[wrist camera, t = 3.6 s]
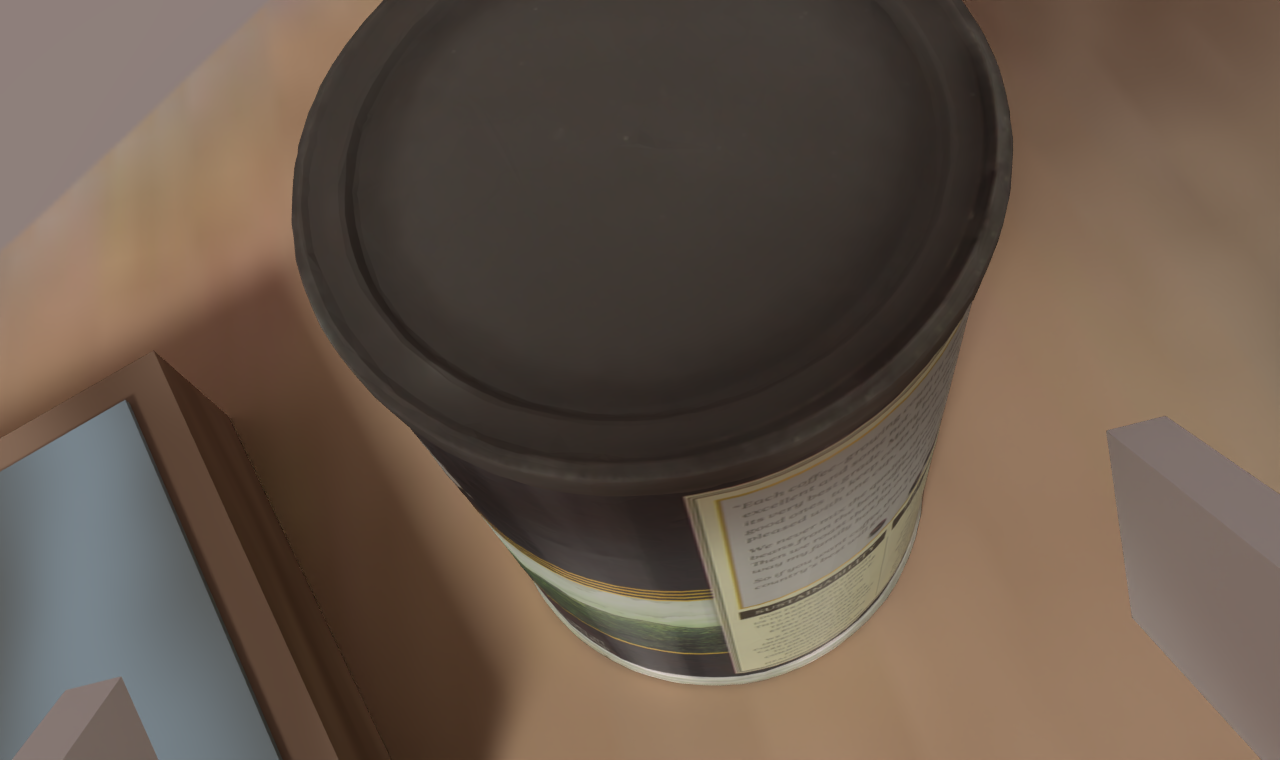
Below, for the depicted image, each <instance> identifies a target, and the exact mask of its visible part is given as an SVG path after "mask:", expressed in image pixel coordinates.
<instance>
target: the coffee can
mask: <svg viewBox="0 0 1280 760" xmlns="http://www.w3.org/2000/svg"><path fill="white" fill-rule="evenodd" d="M1012 158H1013V136H1012V129H1011V123H1010V111H1009V106H1008V101H1007V96H1006V92H1005V88H1004V84H1003V81H1002V77H1001V73H1000V70H999V67H998V65H997V62H996V60H995V57H994V55H993V53H992V51H991V48H990V46H989V44H988V42H987V40H986V38H985V36H984V34H983V32H982V31H981V29H980V27H979V26H978V24H977V22H976V21H975V19H974V18H973V16H972V15H971V13H970V12H969V10H968V9H967V7H966V6H965V4H964V3H963V2H962V0H383V1H382V2H381V4H380V5H379V6H378V7H377V8H376V9H375V10H374V11H373V12H372V14H371V15H370V16H369V17H368V18H367V19H366V20H365V21H364V22H363V24H362V25H361V26H360V27H359V29H358V30H357V31H356V32H355V34H354V35H353V36H352V38H351V39H350V40H349V41H348V43H347V44H346V45H345V47H344V48H343V50H342V51H341V53H340V54H339V56H338V57H337V59H336V60H335V61H334V63H333V64H332V66H331V68H330V70H329V71H328V73H327V75H326V77H325V78H324V80H323V82H322V84H321V85H320V87H319V90H318V93H317V95H316V98H315V100H314V102H313V104H312V106H311V108H310V111H309V113H308V116H307V119H306V122H305V126H304V129H303V132H302V135H301V139H300V142H299V146H298V155H297V158H296V162H295V168H294V179H293V195H292V229H293V235H294V245H295V256H296V262H297V266H298V269H299V272H300V276H301V279H302V283H303V286H304V288H305V291H306V293H307V296H308V298H309V301H310V303H311V306H312V308H313V311H314V313H315V315H316V317H317V319H318V322H319V324H320V326H321V328H322V329H323V331H324V333H325V334H326V336H327V337H328V339H329V341H330V342H331V344H332V345H333V347H334V348H335V350H336V351H337V352H338V354H339V355H340V357H341V358H342V359H343V360H344V362H345V363H346V364H347V365H348V367H349V368H350V369H351V370H352V372H353V373H354V374H355V375H356V377H357V378H358V379H359V380H360V381H361V382H362V383H363V384H364V386H365V387H366V388H367V389H368V390H369V391H370V392H371V394H372V395H373V396H374V397H375V398H376V399H377V400H379V401H380V402H381V403H382V404H383V405H384V406H385V407H386V408H388V409H389V410H390V411H391V412H392V413H393V414H395V415H396V416H397V417H398V418H399V419H400V420H402V421H403V422H404V423H405V424H406V425H407V426H409V427H410V428H411V430H412V431H413V432H414V433H415V434H416V436H417V437H418V438H419V439H420V441H421V442H422V444H423V445H424V446H425V447H426V448H427V449H428V450H429V452H430V453H431V454H432V456H433V457H434V459H435V460H436V461H437V462H438V464H439V465H440V466H441V468H442V469H443V470H444V472H445V473H446V474H447V476H448V477H449V478H450V479H451V480H452V481H453V482H454V483H455V484H456V485H457V487H458V488H459V489H460V491H461V492H462V493H463V494H464V495H465V496H466V497H467V499H468V500H469V501H470V502H471V504H472V505H473V506H474V507H475V509H476V510H477V511H478V512H479V514H480V515H481V516H482V517H483V518H484V520H485V521H486V522H487V523H488V525H489V526H490V527H491V528H492V530H493V531H494V532H495V533H496V535H497V536H498V537H499V538H500V540H501V541H502V542H503V543H504V545H505V546H506V547H507V548H508V550H509V551H510V552H511V554H512V555H513V556H514V557H515V559H516V560H517V561H518V563H519V564H520V565H521V567H522V568H523V569H524V570H525V571H526V572H527V573H528V575H529V576H530V577H531V579H532V580H533V581H534V583H535V585H536V587H537V589H538V591H539V592H540V594H541V595H542V597H543V598H544V600H545V601H546V603H547V604H548V605H549V607H550V608H551V609H552V610H553V611H554V613H555V614H556V615H557V616H558V617H559V619H560V620H561V621H562V622H563V623H564V624H565V625H566V626H567V627H568V628H569V629H570V630H571V631H572V632H573V633H574V634H575V635H576V636H577V637H578V638H579V639H580V640H582V641H583V642H585V643H586V644H587V645H589V646H590V647H592V648H593V649H594V650H596V651H597V652H599V653H601V654H602V655H604V656H606V657H607V658H609V659H611V660H613V661H614V662H616V663H618V664H621V665H623V666H625V667H627V668H629V669H631V670H633V671H636V672H639V673H642V674H645V675H648V676H652V677H655V678H659V679H663V680H667V681H671V682H677V683H683V684H696V685H734V684H746V683H751V682H757V681H762V680H766V679H769V678H772V677H775V676H779V675H782V674H785V673H787V672H790V671H792V670H795V669H798V668H800V667H802V666H804V665H806V664H808V663H810V662H812V661H814V660H816V659H818V658H819V657H821V656H823V655H825V654H826V653H828V652H829V651H831V650H833V649H834V648H836V647H837V646H838V645H840V644H841V643H842V642H843V641H845V640H846V639H847V638H848V637H850V636H851V635H852V634H853V633H855V632H856V631H857V630H858V629H859V628H860V627H861V626H862V625H863V624H864V623H866V622H867V621H868V619H869V618H870V617H871V616H872V615H873V614H874V613H875V612H876V610H877V609H878V608H879V607H880V606H881V605H882V604H883V602H884V601H885V600H886V599H887V598H888V596H889V594H890V593H891V591H892V589H893V588H894V586H895V585H896V583H897V581H898V579H899V577H900V575H901V573H902V571H903V569H904V567H905V565H906V562H907V560H908V558H909V556H910V553H911V550H912V547H913V544H914V541H915V538H916V533H917V529H918V524H919V520H920V517H921V508H922V495H923V491H924V487H925V483H926V480H927V475H928V471H929V467H930V463H931V459H932V455H933V451H934V448H935V445H936V441H937V437H938V432H939V428H940V424H941V420H942V416H943V412H944V408H945V404H946V401H947V397H948V393H949V389H950V385H951V381H952V377H953V373H954V370H955V366H956V362H957V358H958V354H959V350H960V346H961V342H962V338H963V334H964V330H965V326H966V323H967V319H968V315H969V311H970V307H971V304H972V301H973V300H974V297H975V295H976V293H977V291H978V288H979V286H980V284H981V282H982V279H983V277H984V275H985V272H986V270H987V268H988V265H989V263H990V260H991V258H992V255H993V253H994V250H995V248H996V245H997V242H998V239H999V236H1000V233H1001V229H1002V226H1003V222H1004V218H1005V213H1006V209H1007V204H1008V200H1009V195H1010V189H1011V175H1012Z"/></svg>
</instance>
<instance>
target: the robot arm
mask: <svg viewBox="0 0 1280 760" xmlns="http://www.w3.org/2000/svg"><path fill="white" fill-rule="evenodd" d="M1106 432H1107V439H1108V447H1109V454H1110V461H1111V468H1112V476H1113V483H1114V490H1115V497H1116V505H1117V512H1118V519H1119V526H1120V534H1121V541H1122V548H1123V555H1124V563H1125V570H1126V577H1127V584H1128V592H1129V599H1130V606H1131V613H1132V618H1133V619H1134V620H1135V621H1136V622H1137V624H1138V625H1139V626H1140V627H1141V628H1142V629H1143V630H1144V631H1145V632H1146V633H1147V635H1148V636H1149V637H1150V638H1151V639H1152V640H1153V641H1154V642H1155V643H1156V644H1157V646H1158V647H1159V648H1160V649H1161V650H1162V651H1163V652H1164V653H1165V654H1166V655H1167V656H1168V658H1169V659H1170V660H1171V661H1172V662H1173V663H1174V664H1175V665H1176V666H1177V667H1178V669H1179V670H1180V671H1181V672H1182V673H1183V674H1184V675H1185V676H1186V677H1187V678H1188V680H1189V681H1190V682H1191V683H1192V684H1193V685H1194V686H1195V687H1196V688H1197V689H1198V691H1199V692H1200V693H1201V694H1202V695H1203V696H1204V697H1205V698H1206V699H1207V700H1208V702H1209V703H1210V704H1211V705H1212V706H1213V707H1214V708H1215V709H1216V710H1217V711H1218V713H1219V714H1220V715H1221V716H1222V717H1223V718H1224V719H1225V720H1226V721H1227V722H1228V724H1229V725H1230V726H1231V727H1232V728H1233V729H1234V730H1235V731H1236V732H1237V733H1238V735H1239V736H1240V737H1241V738H1242V739H1243V740H1244V741H1245V742H1246V743H1247V744H1248V746H1249V747H1250V748H1251V749H1252V750H1253V751H1254V752H1255V753H1256V754H1257V755H1258V757H1259V758H1260V759H1261V760H1280V494H1278V493H1277V492H1275V491H1274V490H1272V489H1271V488H1270V487H1268V486H1267V485H1265V484H1264V483H1262V482H1261V481H1259V480H1258V479H1256V478H1255V477H1254V476H1252V475H1251V474H1249V473H1248V472H1246V471H1245V470H1243V469H1242V468H1240V467H1239V466H1238V465H1236V464H1235V463H1233V462H1232V461H1230V460H1229V459H1227V458H1226V457H1224V456H1223V455H1222V454H1220V453H1219V452H1217V451H1216V450H1214V449H1213V448H1211V447H1210V446H1208V445H1207V444H1206V443H1204V442H1203V441H1201V440H1200V439H1198V438H1197V437H1195V436H1194V435H1192V434H1191V433H1190V432H1188V431H1187V430H1185V429H1184V428H1182V427H1181V426H1179V425H1178V424H1176V423H1175V422H1174V421H1172V420H1171V419H1169V418H1168V417H1166V416H1163V417H1159V418H1155V419H1151V420H1147V421H1143V422H1139V423H1135V424H1131V425H1127V426H1123V427H1119V428H1115V429H1111V430H1107V431H1106ZM12 760H158V758H157V756H156V753H155V751H154V749H153V746H152V744H151V742H150V740H149V737H148V735H147V733H146V731H145V728H144V726H143V724H142V722H141V719H140V717H139V715H138V713H137V710H136V708H135V706H134V704H133V701H132V699H131V697H130V695H129V692H128V690H127V688H126V686H125V683H124V681H123V679H122V677H121V676H120V677H116V678H112V679H108V680H104V681H100V682H96V683H92V684H88V685H84V686H80V687H76V688H72V689H68V690H65V692H64V693H63V694H62V695H61V697H60V698H59V699H58V701H57V702H56V703H55V704H54V706H53V707H52V708H51V710H50V711H49V712H48V714H47V715H46V716H45V717H44V719H43V720H42V721H41V723H40V724H39V725H38V726H37V728H36V729H35V730H34V732H33V733H32V734H31V736H30V737H29V738H28V739H27V741H26V742H25V743H24V745H23V746H22V747H21V748H20V750H19V751H18V752H17V754H16V755H15V756H14V758H13V759H12Z"/></svg>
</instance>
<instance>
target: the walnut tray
mask: <svg viewBox="0 0 1280 760" xmlns="http://www.w3.org/2000/svg"><path fill="white" fill-rule="evenodd" d="M120 676H121V677H122V679H123V681H124V683H125V686H126V688H127V690H128V692H129V695H130V697H131V699H132V701H133V704H134V706H135V708H136V710H137V713H138V715H139V717H140V719H141V722H142V724H143V726H144V728H145V731H146V733H147V735H148V737H149V740H150V742H151V744H152V746H153V749H154V751H155V753H156V756H157V758H158V760H391V758H390V756H389V754H388V752H387V750H386V748H385V746H384V744H383V742H382V740H381V737H380V735H379V733H378V731H377V729H376V727H375V725H374V723H373V721H372V718H371V716H370V714H369V712H368V710H367V708H366V706H365V704H364V702H363V699H362V697H361V695H360V693H359V691H358V689H357V687H356V685H355V683H354V681H353V678H352V676H351V674H350V672H349V670H348V668H347V666H346V664H345V662H344V659H343V657H342V655H341V653H340V651H339V649H338V647H337V645H336V643H335V641H334V638H333V636H332V634H331V632H330V630H329V628H328V626H327V624H326V622H325V619H324V617H323V615H322V613H321V611H320V609H319V607H318V605H317V603H316V600H315V598H314V596H313V594H312V592H311V590H310V588H309V586H308V584H307V582H306V579H305V577H304V575H303V573H302V571H301V569H300V567H299V565H298V563H297V560H296V558H295V556H294V554H293V552H292V550H291V548H290V546H289V544H288V541H287V539H286V537H285V535H284V533H283V531H282V529H281V527H280V525H279V523H278V520H277V518H276V516H275V514H274V512H273V510H272V508H271V506H270V504H269V501H268V499H267V497H266V495H265V493H264V491H263V489H262V487H261V485H260V482H259V480H258V478H257V476H256V474H255V472H254V470H253V468H252V466H251V464H250V461H249V459H248V457H247V455H246V453H245V451H244V449H243V447H242V445H241V442H240V440H239V438H238V436H237V434H236V432H235V430H234V428H233V426H232V423H231V421H230V419H229V417H228V416H227V415H226V414H225V413H224V412H223V411H221V410H220V409H219V408H218V407H217V406H216V405H215V404H213V403H212V402H211V401H210V400H209V399H208V398H207V397H205V396H204V395H203V394H202V393H201V392H200V391H199V390H198V389H196V388H195V387H194V386H193V385H192V384H191V383H190V382H188V381H187V380H186V379H185V378H184V377H183V376H182V375H181V374H179V373H178V372H177V371H176V370H175V369H174V368H173V367H171V366H170V365H169V364H168V363H167V362H166V361H165V360H163V359H162V358H161V357H160V356H159V355H158V354H157V353H156V352H154V351H152V352H150V353H148V354H147V355H145V356H143V357H141V358H140V359H138V360H136V361H134V362H133V363H131V364H129V365H127V366H126V367H124V368H122V369H120V370H119V371H117V372H115V373H113V374H112V375H110V376H108V377H106V378H105V379H103V380H101V381H99V382H98V383H96V384H94V385H92V386H91V387H89V388H87V389H86V390H84V391H82V392H80V393H79V394H77V395H75V396H73V397H72V398H70V399H68V400H66V401H65V402H63V403H61V404H59V405H58V406H56V407H54V408H52V409H51V410H49V411H47V412H45V413H44V414H42V415H40V416H38V417H37V418H35V419H33V420H31V421H30V422H28V423H26V424H24V425H23V426H21V427H19V428H17V429H16V430H14V431H12V432H10V433H9V434H7V435H5V436H3V437H2V438H0V760H12V759H13V758H14V756H15V755H16V754H17V752H18V751H19V750H20V748H21V747H22V746H23V745H24V743H25V742H26V741H27V739H28V738H29V737H30V736H31V734H32V733H33V732H34V730H35V729H36V728H37V726H38V725H39V724H40V723H41V721H42V720H43V719H44V717H45V716H46V715H47V714H48V712H49V711H50V710H51V708H52V707H53V706H54V704H55V703H56V702H57V701H58V699H59V698H60V697H61V695H62V694H63V693H64V692H65V690H68V689H72V688H76V687H80V686H84V685H88V684H92V683H96V682H100V681H104V680H108V679H112V678H116V677H120Z"/></svg>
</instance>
